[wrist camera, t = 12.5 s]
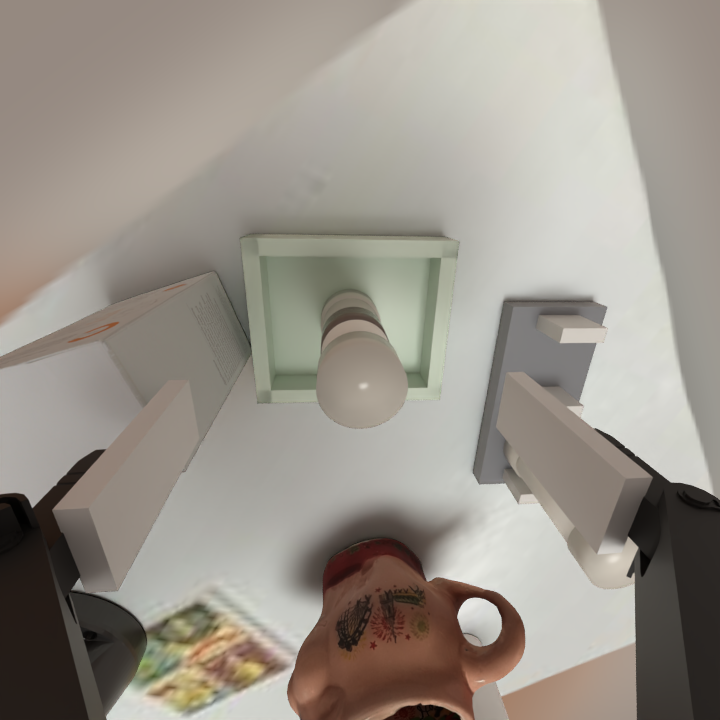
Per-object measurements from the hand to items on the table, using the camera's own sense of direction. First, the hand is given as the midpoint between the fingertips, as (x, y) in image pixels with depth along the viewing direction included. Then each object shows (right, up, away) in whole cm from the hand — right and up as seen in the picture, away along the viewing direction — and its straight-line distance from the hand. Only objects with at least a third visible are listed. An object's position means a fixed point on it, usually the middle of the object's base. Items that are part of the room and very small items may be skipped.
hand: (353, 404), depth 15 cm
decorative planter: (+3, -19, +22) cm, 29 cm away
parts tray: (-1, +5, +11) cm, 12 cm away
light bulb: (0, +5, +11) cm, 12 cm away
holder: (+14, -1, +15) cm, 21 cm away
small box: (-12, +4, +11) cm, 17 cm away
